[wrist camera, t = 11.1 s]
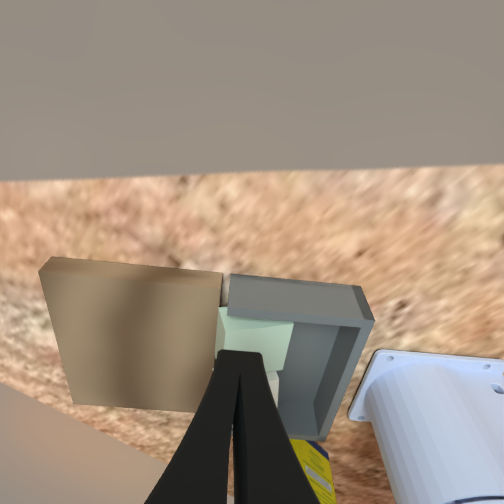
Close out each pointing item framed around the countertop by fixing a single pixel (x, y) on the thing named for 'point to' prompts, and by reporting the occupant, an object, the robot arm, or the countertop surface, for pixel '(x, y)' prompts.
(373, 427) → the robot arm
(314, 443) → the supplement box
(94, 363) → the tan flat slab
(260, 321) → the sage tile
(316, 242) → the countertop surface
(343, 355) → the tray
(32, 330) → the countertop surface
